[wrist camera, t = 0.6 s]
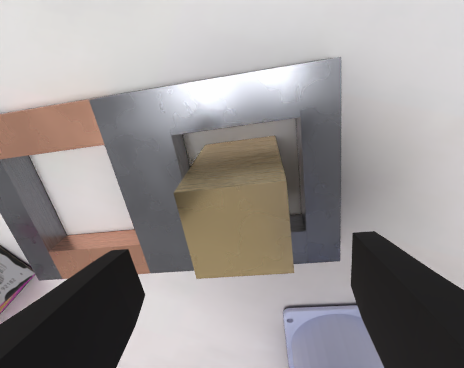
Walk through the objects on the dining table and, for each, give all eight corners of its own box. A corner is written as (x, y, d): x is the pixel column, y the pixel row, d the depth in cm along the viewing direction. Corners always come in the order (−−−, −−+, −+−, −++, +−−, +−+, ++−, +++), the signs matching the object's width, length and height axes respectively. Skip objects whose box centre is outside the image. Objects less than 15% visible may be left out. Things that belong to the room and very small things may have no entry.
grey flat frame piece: (332, 242, 19) (340, 261, 17) (57, 262, 22) (39, 280, 20) (330, 58, 14) (341, 57, 12) (-19, 117, 17) (-52, 123, 15)
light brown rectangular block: (280, 199, 18) (294, 273, 12) (217, 205, 18) (196, 278, 12) (274, 135, 16) (286, 180, 10) (205, 144, 17) (173, 192, 10)
